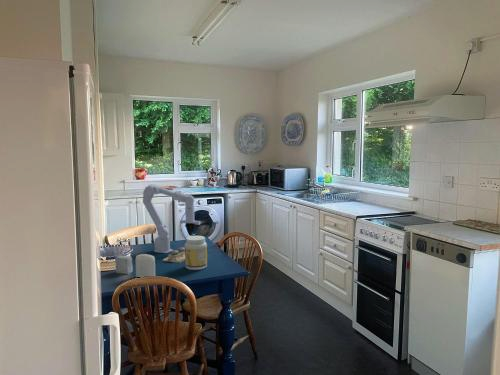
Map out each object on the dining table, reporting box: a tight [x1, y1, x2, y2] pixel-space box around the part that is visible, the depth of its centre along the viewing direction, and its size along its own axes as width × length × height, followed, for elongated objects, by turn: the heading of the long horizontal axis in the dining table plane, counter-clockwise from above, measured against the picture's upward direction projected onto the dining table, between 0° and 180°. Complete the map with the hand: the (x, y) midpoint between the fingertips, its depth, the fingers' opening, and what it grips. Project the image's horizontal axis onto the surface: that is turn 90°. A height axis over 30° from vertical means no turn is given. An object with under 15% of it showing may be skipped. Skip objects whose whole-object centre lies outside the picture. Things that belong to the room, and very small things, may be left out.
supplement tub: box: [184, 235, 208, 271], centre depth 212 cm, size 12×12×17 cm
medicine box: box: [114, 255, 134, 275], centre depth 205 cm, size 8×4×9 cm, turn 71°
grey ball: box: [177, 246, 185, 252], centre depth 233 cm, size 4×4×4 cm
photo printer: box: [135, 253, 156, 278], centre depth 197 cm, size 10×4×12 cm, turn 77°
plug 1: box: [170, 249, 179, 255], centre depth 226 cm, size 4×4×4 cm
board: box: [162, 246, 185, 264], centre depth 233 cm, size 12×22×4 cm, turn 157°
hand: (190, 234), depth 246 cm, fingers closed
